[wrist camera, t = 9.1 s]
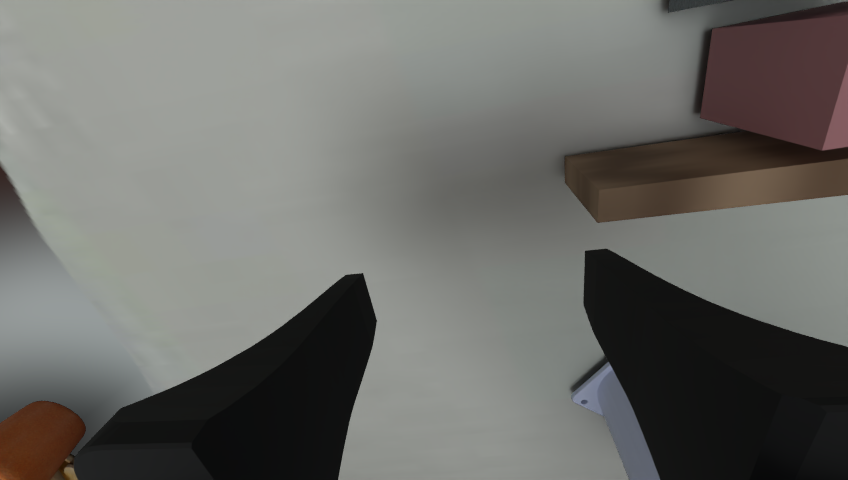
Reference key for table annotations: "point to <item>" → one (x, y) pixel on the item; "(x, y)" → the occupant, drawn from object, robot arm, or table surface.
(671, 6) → the bookend
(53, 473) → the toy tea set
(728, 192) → the shelf wall
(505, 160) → the table surface
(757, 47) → the mauve rectangular block
